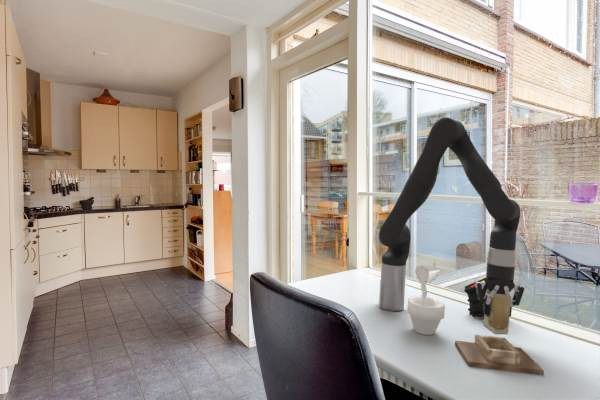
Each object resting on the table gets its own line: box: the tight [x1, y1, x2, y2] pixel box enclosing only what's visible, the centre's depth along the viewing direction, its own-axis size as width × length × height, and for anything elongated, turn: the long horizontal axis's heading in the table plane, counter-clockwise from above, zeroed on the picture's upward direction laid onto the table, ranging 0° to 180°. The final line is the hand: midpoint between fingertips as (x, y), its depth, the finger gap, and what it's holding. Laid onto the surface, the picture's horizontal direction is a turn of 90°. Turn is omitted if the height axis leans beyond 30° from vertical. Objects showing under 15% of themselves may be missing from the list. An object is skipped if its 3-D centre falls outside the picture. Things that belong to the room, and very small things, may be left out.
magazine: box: [463, 277, 488, 318], centre depth 130 cm, size 4×13×15 cm, turn 92°
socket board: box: [454, 334, 545, 376], centre depth 96 cm, size 18×13×4 cm
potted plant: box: [406, 259, 446, 336], centre depth 113 cm, size 13×12×25 cm
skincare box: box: [482, 291, 512, 335], centre depth 109 cm, size 6×4×12 cm
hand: (496, 316), depth 109 cm, fingers closed on skincare box, 5 cm apart
